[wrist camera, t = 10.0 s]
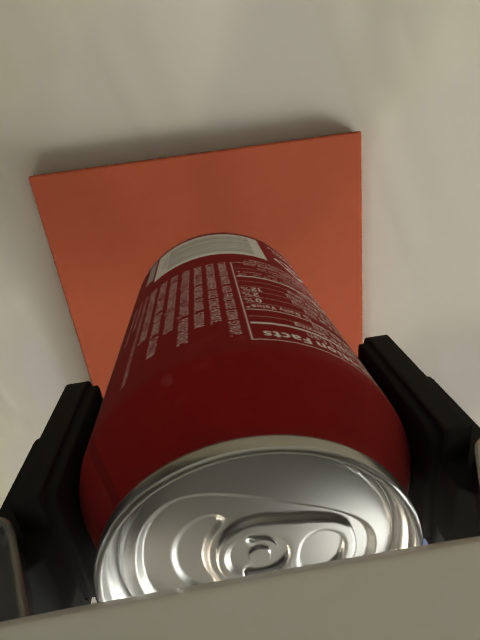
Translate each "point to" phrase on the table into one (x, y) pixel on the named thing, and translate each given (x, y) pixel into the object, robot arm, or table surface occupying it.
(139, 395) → the soda can
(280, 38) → the table surface
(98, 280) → the orange mat
